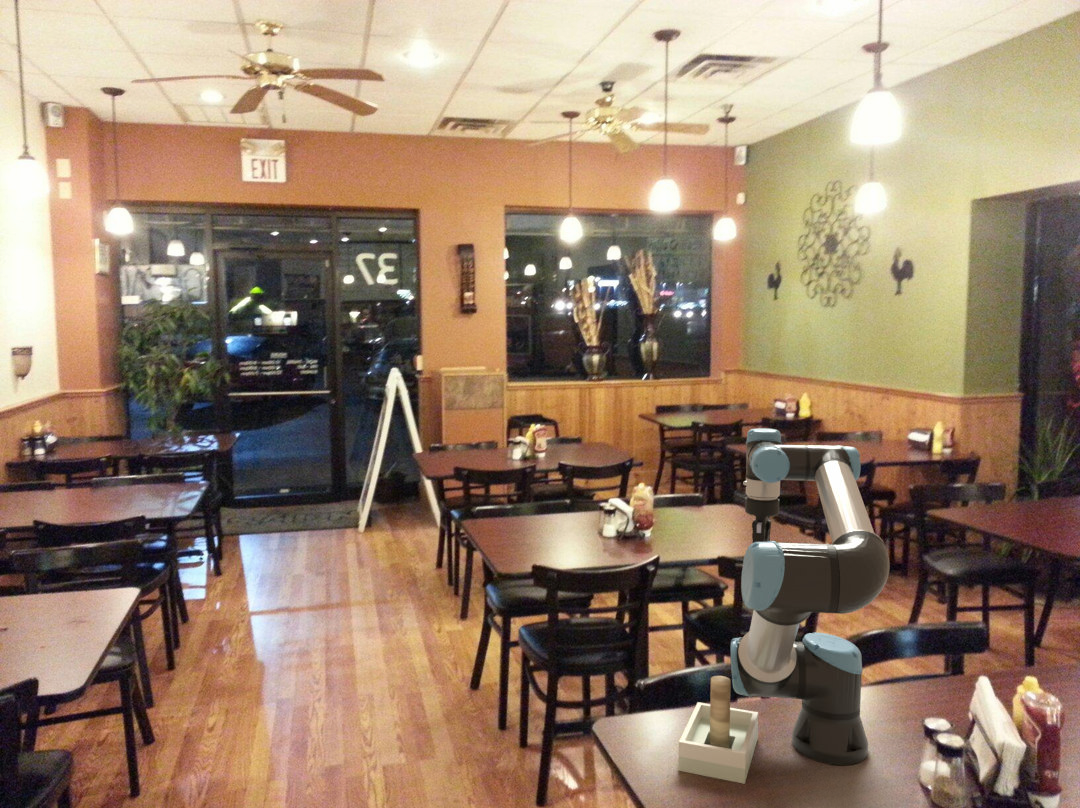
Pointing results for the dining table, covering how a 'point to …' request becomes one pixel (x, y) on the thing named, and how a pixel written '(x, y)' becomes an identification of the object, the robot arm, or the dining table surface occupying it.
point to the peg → (720, 711)
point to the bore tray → (714, 759)
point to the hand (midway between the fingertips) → (760, 587)
